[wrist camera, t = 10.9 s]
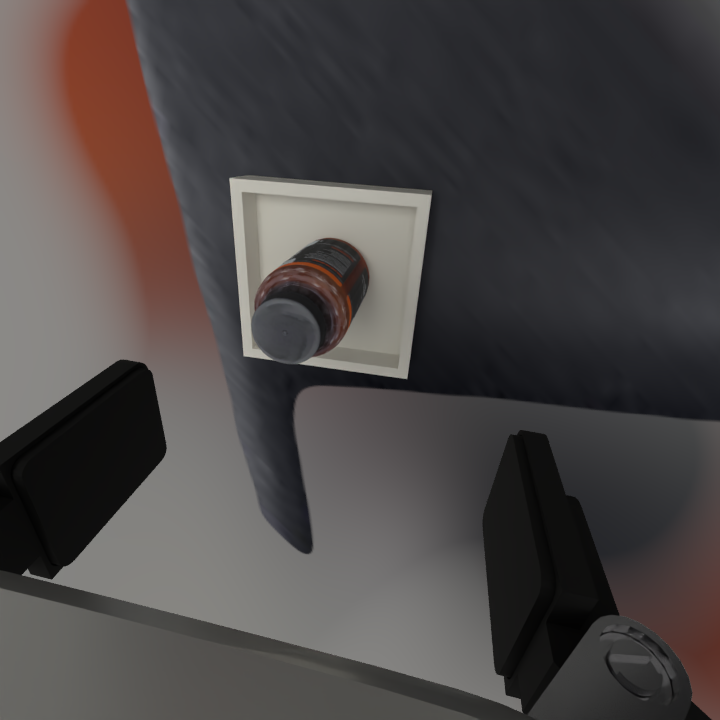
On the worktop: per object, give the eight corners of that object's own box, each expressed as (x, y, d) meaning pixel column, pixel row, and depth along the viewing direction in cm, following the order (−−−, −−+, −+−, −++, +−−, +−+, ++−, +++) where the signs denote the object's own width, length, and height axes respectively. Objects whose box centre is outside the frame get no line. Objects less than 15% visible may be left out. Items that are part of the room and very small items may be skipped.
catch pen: (247, 175, 31) (229, 177, 28) (432, 190, 29) (431, 195, 26) (257, 340, 37) (243, 355, 34) (409, 361, 35) (407, 379, 33)
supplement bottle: (292, 236, 32) (223, 277, 22) (369, 235, 31) (334, 278, 21) (301, 310, 34) (243, 377, 24) (372, 311, 33) (341, 382, 23)
